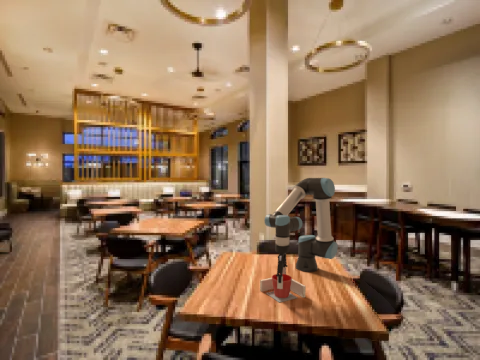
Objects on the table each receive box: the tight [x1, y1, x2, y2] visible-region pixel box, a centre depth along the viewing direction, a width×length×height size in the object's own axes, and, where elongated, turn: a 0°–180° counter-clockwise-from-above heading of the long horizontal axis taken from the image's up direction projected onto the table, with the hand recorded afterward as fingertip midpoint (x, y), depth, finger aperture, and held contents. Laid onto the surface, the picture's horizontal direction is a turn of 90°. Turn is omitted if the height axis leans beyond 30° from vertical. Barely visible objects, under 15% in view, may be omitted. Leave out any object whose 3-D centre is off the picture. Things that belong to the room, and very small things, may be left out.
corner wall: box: [259, 277, 306, 298], centre depth 144 cm, size 18×18×6 cm
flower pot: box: [271, 273, 293, 298], centre depth 141 cm, size 11×11×10 cm
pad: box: [265, 290, 298, 303], centre depth 141 cm, size 12×12×1 cm
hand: (281, 283), depth 142 cm, fingers open, 13 cm apart
